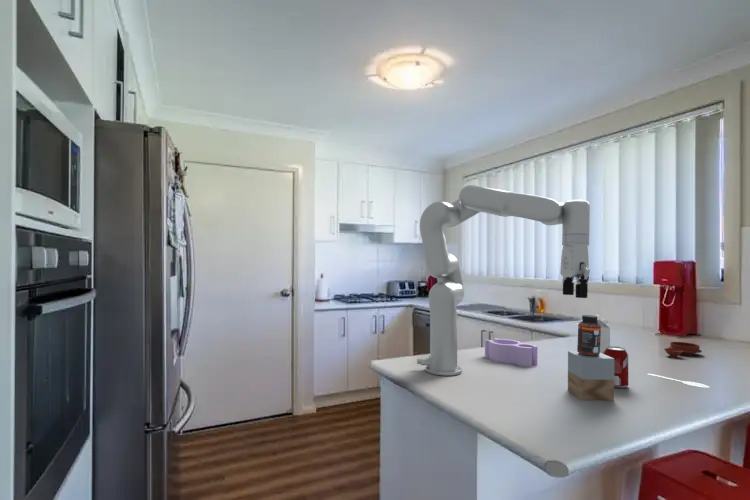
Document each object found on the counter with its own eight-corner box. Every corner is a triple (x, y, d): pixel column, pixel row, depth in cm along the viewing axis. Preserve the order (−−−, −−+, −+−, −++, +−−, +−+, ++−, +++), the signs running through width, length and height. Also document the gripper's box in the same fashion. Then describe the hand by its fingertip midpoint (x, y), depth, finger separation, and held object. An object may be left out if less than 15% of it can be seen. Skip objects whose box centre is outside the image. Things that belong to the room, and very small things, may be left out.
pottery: (706, 355, 175) (706, 345, 175) (686, 361, 164) (686, 350, 165) (674, 350, 185) (674, 340, 185) (654, 355, 174) (654, 344, 174)
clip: (543, 363, 158) (543, 345, 158) (525, 368, 150) (525, 349, 151) (498, 353, 174) (498, 337, 174) (480, 357, 166) (480, 340, 166)
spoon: (651, 373, 146) (651, 372, 146) (713, 387, 130) (713, 386, 130) (643, 375, 143) (643, 374, 143) (705, 390, 127) (705, 388, 127)
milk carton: (588, 366, 153) (588, 315, 154) (586, 362, 160) (586, 313, 160) (610, 368, 151) (610, 317, 151) (607, 364, 157) (607, 314, 158)
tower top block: (582, 379, 116) (582, 358, 116) (568, 370, 125) (567, 351, 125) (614, 379, 116) (614, 358, 116) (597, 371, 125) (597, 351, 125)
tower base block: (581, 400, 116) (581, 379, 116) (567, 390, 125) (567, 370, 125) (614, 401, 115) (613, 379, 116) (597, 391, 124) (597, 371, 125)
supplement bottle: (602, 357, 117) (604, 318, 117) (580, 355, 118) (581, 316, 118) (596, 352, 123) (597, 314, 123) (574, 350, 124) (576, 313, 124)
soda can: (619, 390, 125) (619, 350, 125) (599, 384, 131) (599, 346, 131) (633, 387, 128) (633, 349, 129) (612, 381, 134) (612, 344, 135)
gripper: (552, 241, 135) (551, 293, 135) (574, 239, 118) (573, 298, 117) (576, 242, 134) (575, 294, 134) (601, 239, 117) (600, 299, 117)
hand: (574, 296), depth 126 cm, fingers open, 9 cm apart
